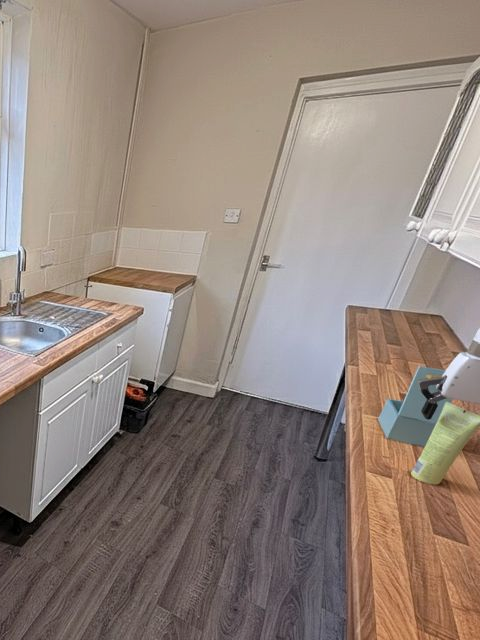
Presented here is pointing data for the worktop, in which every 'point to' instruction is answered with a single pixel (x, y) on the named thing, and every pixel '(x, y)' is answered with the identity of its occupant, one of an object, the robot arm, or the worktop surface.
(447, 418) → the tube
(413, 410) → the chest lid
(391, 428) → the chest
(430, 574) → the worktop surface
